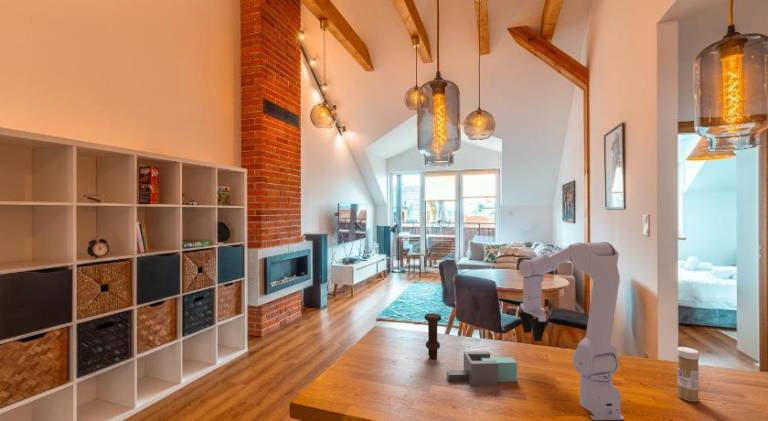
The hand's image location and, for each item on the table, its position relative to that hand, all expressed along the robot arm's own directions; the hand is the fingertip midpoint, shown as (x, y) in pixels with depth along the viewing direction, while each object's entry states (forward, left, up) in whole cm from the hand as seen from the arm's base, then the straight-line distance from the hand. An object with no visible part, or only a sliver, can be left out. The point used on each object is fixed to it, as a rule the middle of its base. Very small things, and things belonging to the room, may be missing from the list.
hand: (532, 336), depth 117 cm
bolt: (+8, +32, -10) cm, 34 cm away
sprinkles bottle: (-21, -34, -10) cm, 41 cm away
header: (-8, +20, -10) cm, 24 cm away
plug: (-8, +14, -10) cm, 19 cm away
